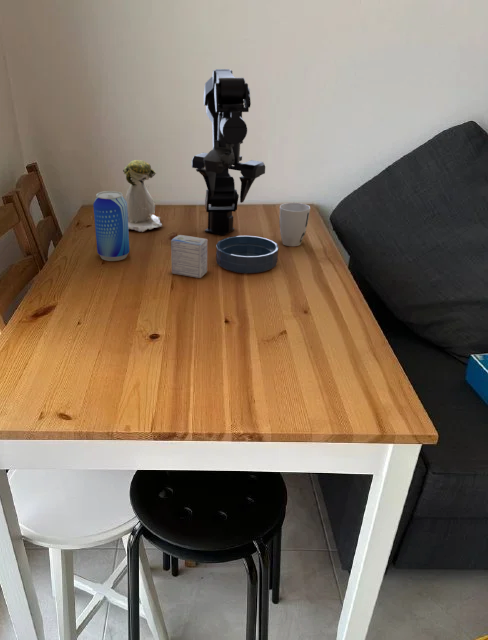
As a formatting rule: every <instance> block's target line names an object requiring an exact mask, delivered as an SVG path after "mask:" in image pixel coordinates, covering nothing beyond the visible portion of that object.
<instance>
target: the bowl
mask: <svg viewBox="0 0 488 640" xmlns="http://www.w3.org/2000/svg"><path fill="white" fill-rule="evenodd" d="M279 249H280V246H279V244H278V243H277V242H275V241H273V240H272V239H269V238H266V237H262V236H255V235H234V236H228V237H225V238H222V239H221V240H218V241H217V243H216V244H215V261H216V264H217V265H218V266H219V267H221V268H223V269H224V270H226V271H229V272H232V273H237V274H258V273H265V272H266V271H269V270H272V269H274V268H275V267H276V266H277V264H278V261H279V259H278V258H279Z"/></svg>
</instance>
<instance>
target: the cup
mask: <svg viewBox="0 0 488 640" xmlns="http://www.w3.org/2000/svg"><path fill="white" fill-rule="evenodd" d="M310 212H311V206H310V205H308V204H306V203H301V202H285V203H282V204H280V205H279V232H280V233H279V234H280V239H281V242H282V245H284V246H287V247H298V246H300V245H301V244H302V242H303V240H304V237H305V235H306V231H307V227H308V223H309V217H310V214H311V213H310Z"/></svg>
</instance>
